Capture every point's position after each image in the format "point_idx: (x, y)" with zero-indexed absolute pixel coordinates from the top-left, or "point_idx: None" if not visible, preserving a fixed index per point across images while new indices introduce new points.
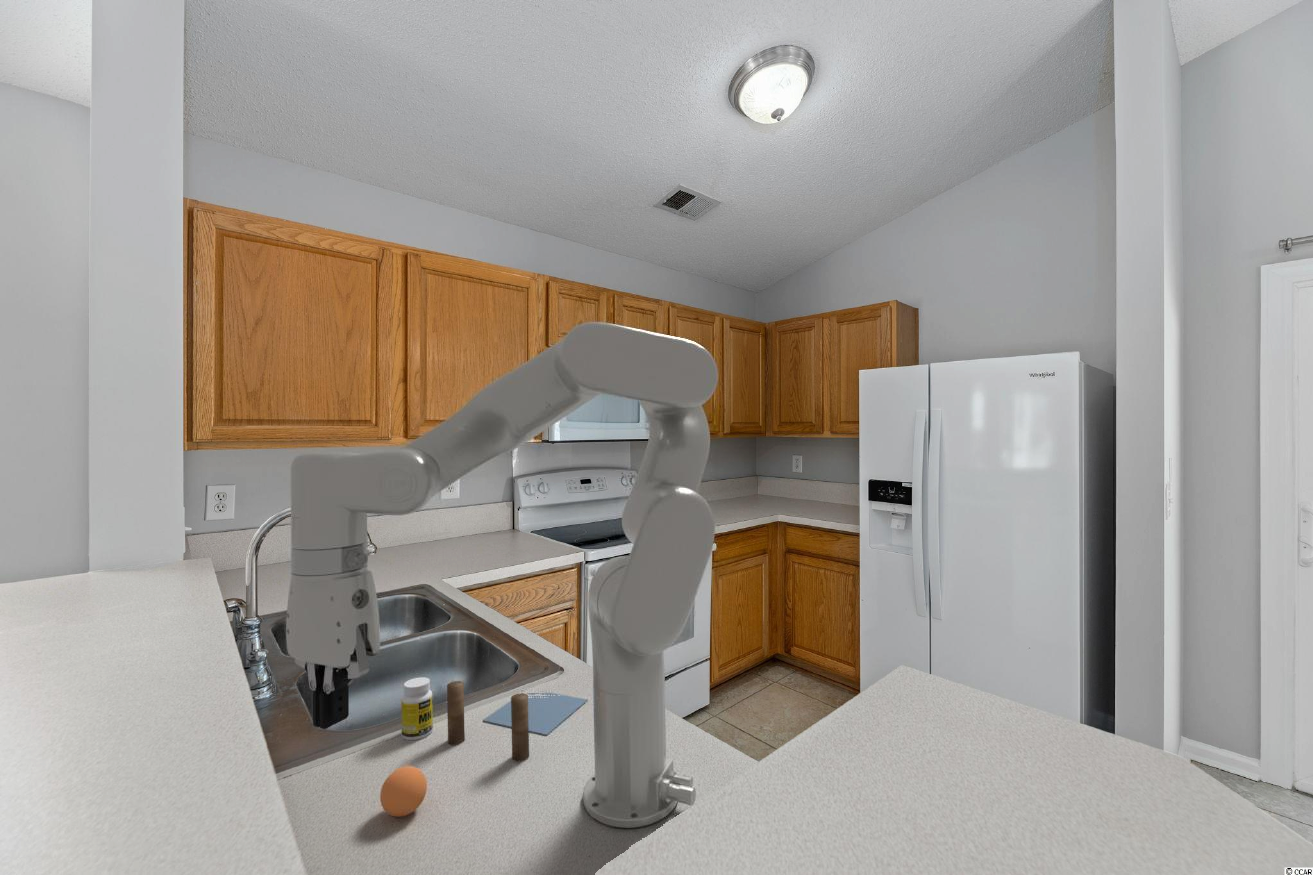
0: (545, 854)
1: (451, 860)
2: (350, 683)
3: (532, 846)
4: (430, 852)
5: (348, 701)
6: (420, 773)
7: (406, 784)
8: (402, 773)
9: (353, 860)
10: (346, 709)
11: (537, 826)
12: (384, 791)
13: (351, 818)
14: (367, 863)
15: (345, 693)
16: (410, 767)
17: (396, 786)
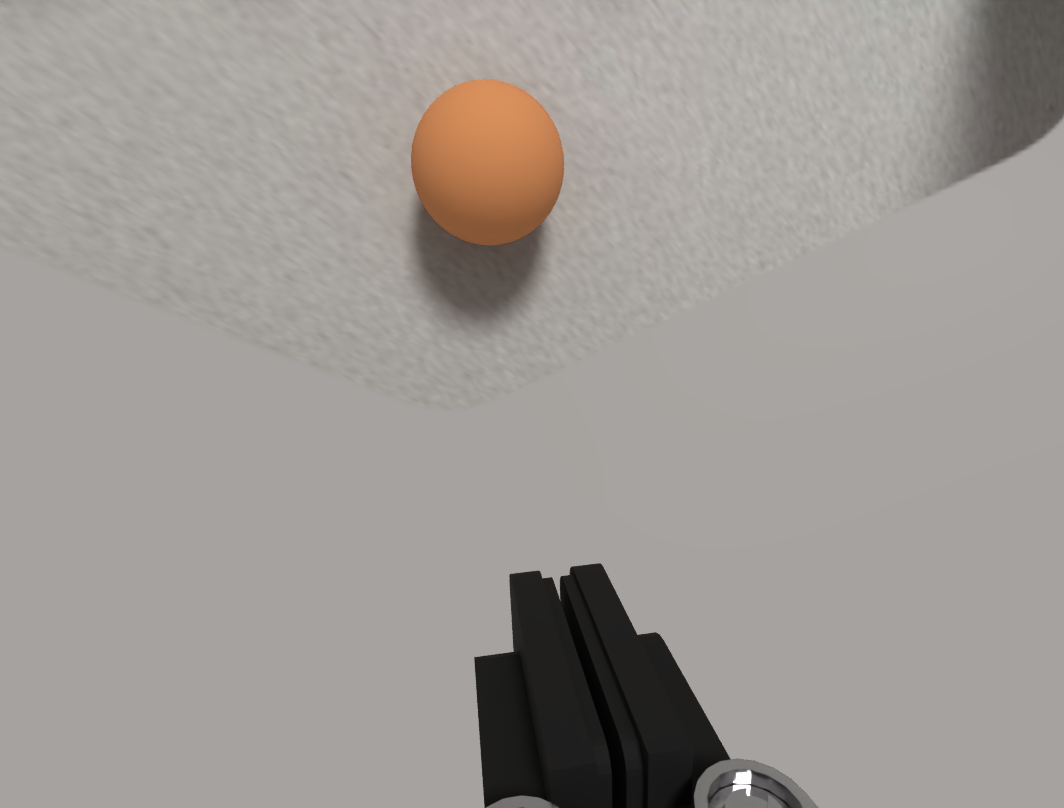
0: (950, 150)
1: (747, 267)
2: (768, 774)
3: (909, 139)
4: (680, 269)
5: (630, 621)
6: (536, 115)
7: (544, 193)
8: (509, 174)
9: (523, 372)
10: (663, 640)
11: (888, 61)
12: (475, 235)
13: (358, 266)
14: (564, 364)
15: (718, 746)
16: (498, 123)
17: (518, 217)
